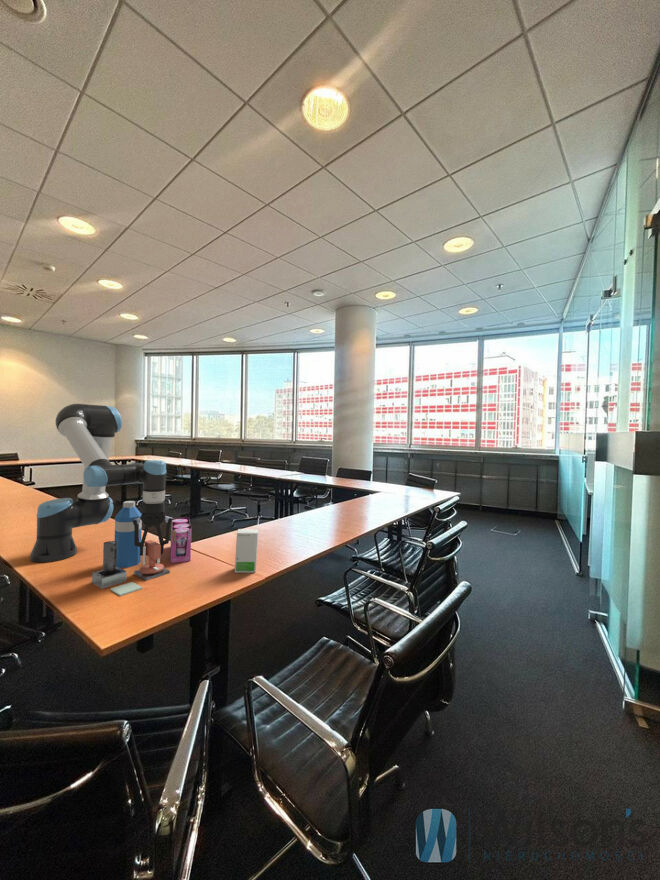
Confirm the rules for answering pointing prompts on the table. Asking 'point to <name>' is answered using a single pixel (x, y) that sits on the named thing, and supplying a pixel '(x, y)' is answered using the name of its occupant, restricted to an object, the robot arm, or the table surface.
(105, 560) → the hook peg
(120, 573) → the block
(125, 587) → the mat
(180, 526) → the gum box
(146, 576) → the wheel base
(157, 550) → the pink block-head stand
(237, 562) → the skincare box
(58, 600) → the table surface
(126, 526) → the water bottle
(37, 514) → the robot arm
